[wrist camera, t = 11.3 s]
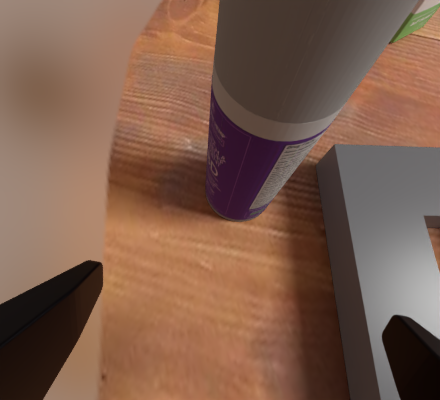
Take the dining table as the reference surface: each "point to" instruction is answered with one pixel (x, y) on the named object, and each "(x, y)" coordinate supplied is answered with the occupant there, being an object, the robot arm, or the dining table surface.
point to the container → (284, 88)
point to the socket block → (380, 251)
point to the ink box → (417, 18)
